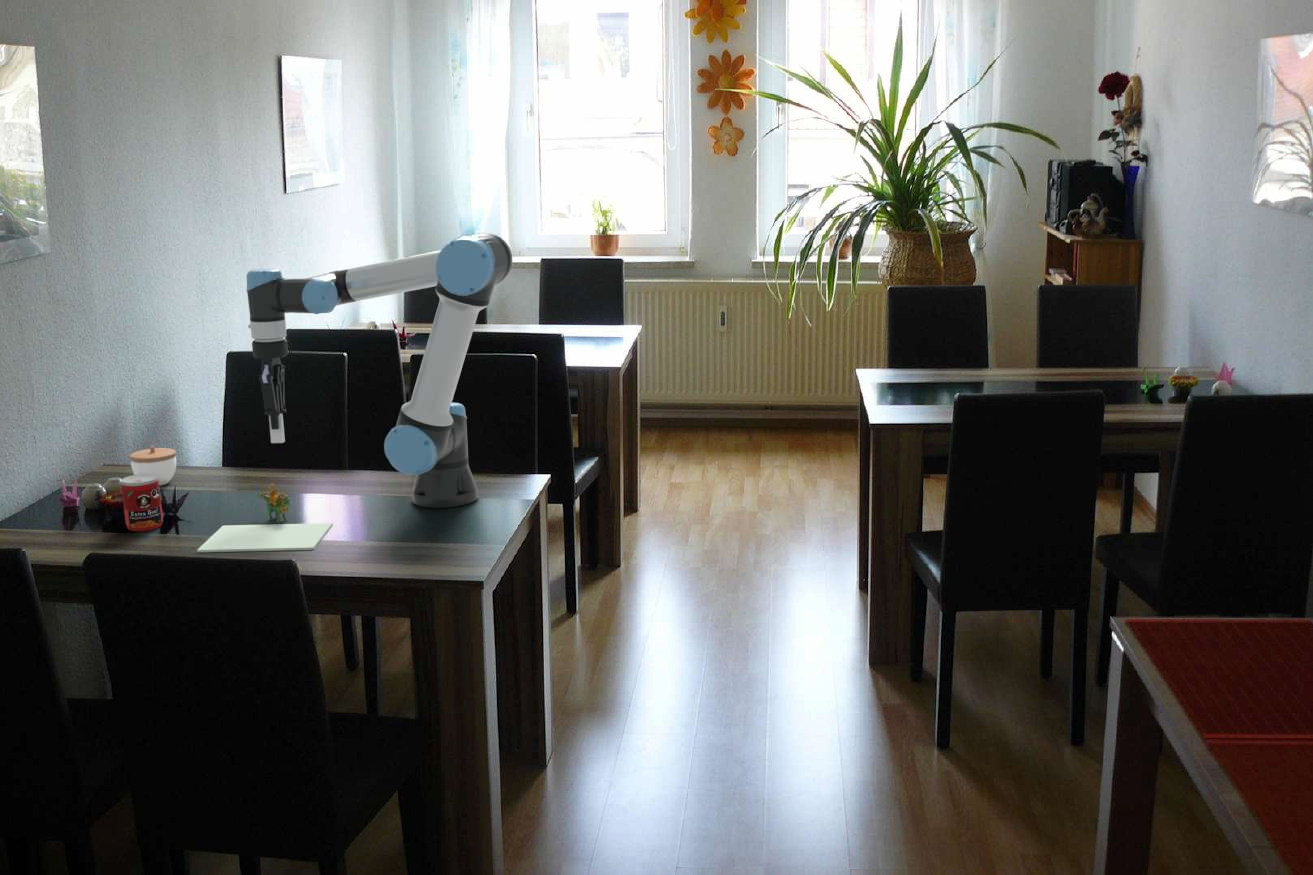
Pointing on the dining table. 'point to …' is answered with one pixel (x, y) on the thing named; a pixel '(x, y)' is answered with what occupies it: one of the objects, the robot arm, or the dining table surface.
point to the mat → (266, 537)
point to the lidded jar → (155, 463)
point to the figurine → (276, 503)
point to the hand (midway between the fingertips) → (278, 442)
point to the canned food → (142, 502)
